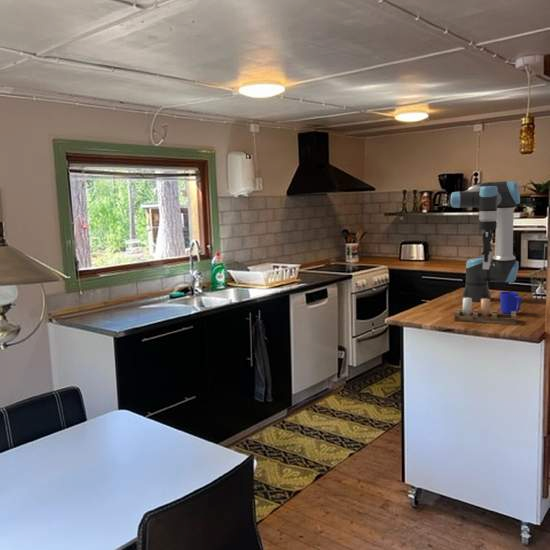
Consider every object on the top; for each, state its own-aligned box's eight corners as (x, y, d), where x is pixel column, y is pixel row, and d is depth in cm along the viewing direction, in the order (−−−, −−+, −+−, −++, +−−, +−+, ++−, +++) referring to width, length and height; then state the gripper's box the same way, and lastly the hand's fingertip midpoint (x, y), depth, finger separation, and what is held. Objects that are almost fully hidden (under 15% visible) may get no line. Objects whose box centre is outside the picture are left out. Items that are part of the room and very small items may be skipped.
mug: (512, 317, 256) (513, 296, 255) (495, 312, 268) (496, 292, 267) (527, 315, 258) (527, 295, 257) (509, 311, 270) (510, 291, 269)
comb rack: (456, 316, 260) (456, 308, 260) (515, 320, 250) (516, 311, 249) (454, 320, 251) (454, 312, 250) (515, 324, 241) (516, 315, 240)
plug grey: (462, 316, 256) (462, 297, 255) (471, 316, 255) (471, 297, 253) (462, 317, 252) (462, 299, 251) (471, 318, 251) (471, 299, 250)
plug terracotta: (480, 317, 253) (481, 298, 252) (489, 317, 251) (490, 298, 250) (480, 319, 249) (480, 299, 248) (489, 319, 248) (490, 300, 246)
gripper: (480, 219, 257) (479, 264, 260) (477, 221, 234) (476, 270, 237) (497, 219, 254) (496, 264, 257) (495, 221, 231) (494, 270, 234)
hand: (486, 267), depth 247 cm, fingers open, 13 cm apart
